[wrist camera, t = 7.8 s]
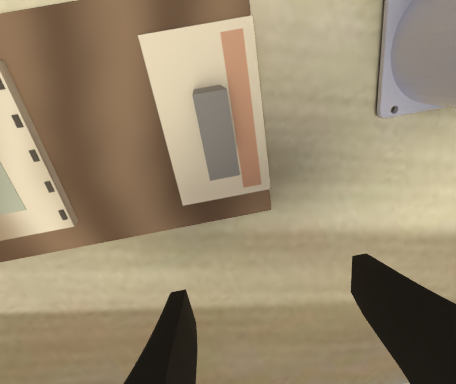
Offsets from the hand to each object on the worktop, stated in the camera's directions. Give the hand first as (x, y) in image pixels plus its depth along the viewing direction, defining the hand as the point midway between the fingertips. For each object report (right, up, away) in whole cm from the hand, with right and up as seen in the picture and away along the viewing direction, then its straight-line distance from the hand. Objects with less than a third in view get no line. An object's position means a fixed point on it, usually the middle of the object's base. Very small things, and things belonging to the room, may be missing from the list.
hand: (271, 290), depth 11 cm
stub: (-3, +9, +5) cm, 10 cm away
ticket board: (-11, +8, +6) cm, 14 cm away
